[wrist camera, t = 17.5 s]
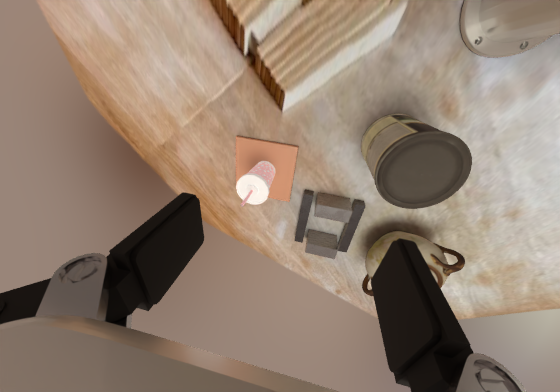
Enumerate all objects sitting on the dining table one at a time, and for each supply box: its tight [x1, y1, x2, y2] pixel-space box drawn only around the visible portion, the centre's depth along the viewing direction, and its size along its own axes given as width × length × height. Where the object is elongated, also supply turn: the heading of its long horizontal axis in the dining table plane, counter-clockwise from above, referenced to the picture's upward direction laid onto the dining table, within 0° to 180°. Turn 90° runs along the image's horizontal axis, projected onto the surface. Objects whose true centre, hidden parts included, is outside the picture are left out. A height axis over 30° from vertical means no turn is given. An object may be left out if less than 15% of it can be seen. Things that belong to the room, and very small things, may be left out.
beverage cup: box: [236, 161, 275, 207], centre depth 38 cm, size 6×6×14 cm
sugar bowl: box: [362, 231, 465, 296], centre depth 41 cm, size 20×15×15 cm
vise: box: [295, 190, 365, 259], centre depth 46 cm, size 13×14×5 cm
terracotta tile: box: [236, 136, 298, 202], centre depth 44 cm, size 13×13×1 cm
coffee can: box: [361, 114, 472, 209], centre depth 31 cm, size 10×10×14 cm
